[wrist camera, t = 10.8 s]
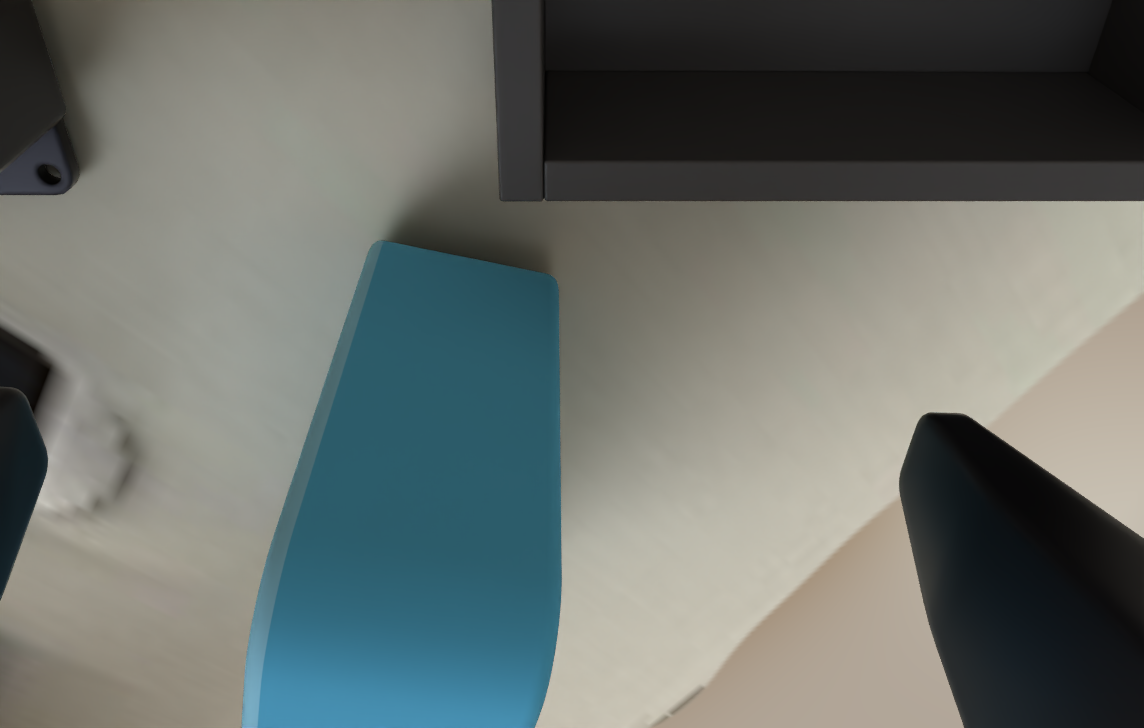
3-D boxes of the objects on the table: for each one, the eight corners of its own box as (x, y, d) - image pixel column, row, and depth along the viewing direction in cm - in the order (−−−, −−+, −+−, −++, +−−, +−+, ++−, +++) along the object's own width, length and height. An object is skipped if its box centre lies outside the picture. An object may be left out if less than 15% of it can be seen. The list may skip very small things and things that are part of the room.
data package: (475, 569, 30) (437, 993, 20) (333, 548, 29) (224, 976, 19) (560, 250, 23) (566, 658, 13) (378, 213, 22) (244, 613, 13)
